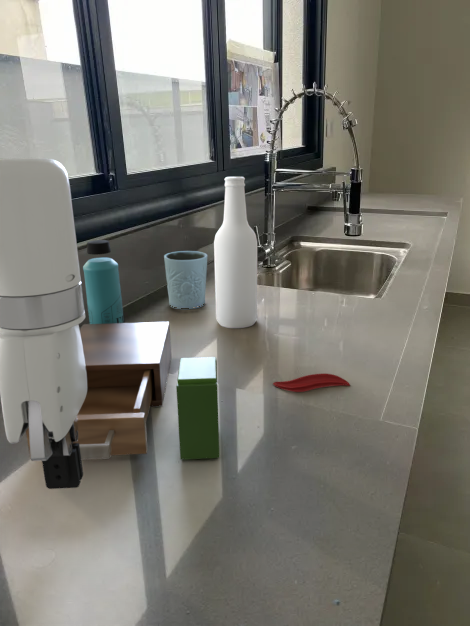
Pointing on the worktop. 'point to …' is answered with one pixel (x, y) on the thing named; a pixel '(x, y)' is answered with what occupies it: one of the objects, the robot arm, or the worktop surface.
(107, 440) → the drawer
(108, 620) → the worktop surface
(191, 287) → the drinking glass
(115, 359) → the cabinet
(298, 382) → the cayenne pepper
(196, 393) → the tall green carton
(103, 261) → the beverage bottle
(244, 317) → the alcohol
